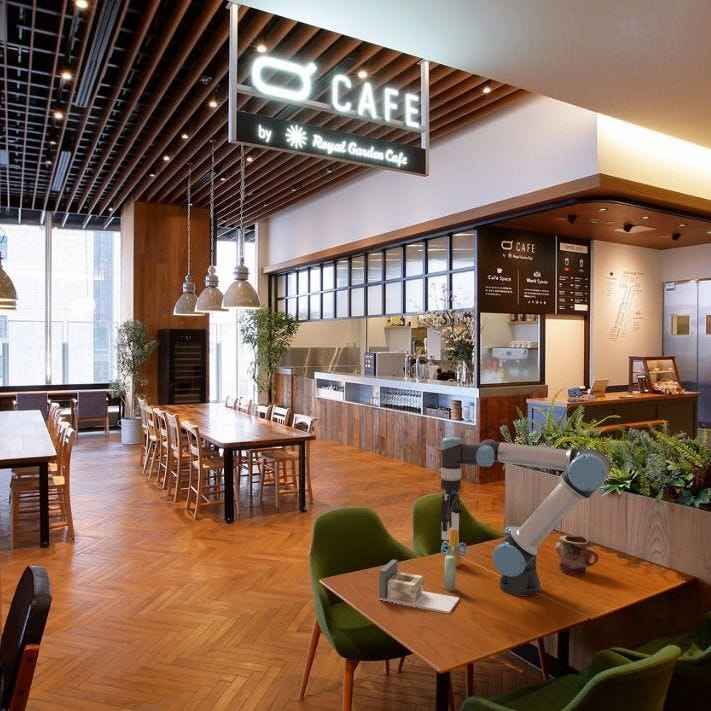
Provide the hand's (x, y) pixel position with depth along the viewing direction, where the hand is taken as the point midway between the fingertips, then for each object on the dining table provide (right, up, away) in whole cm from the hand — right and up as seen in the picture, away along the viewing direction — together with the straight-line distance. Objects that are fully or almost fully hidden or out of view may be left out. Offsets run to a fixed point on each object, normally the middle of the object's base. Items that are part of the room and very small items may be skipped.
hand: (450, 534), depth 232 cm
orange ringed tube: (+6, -21, +27) cm, 35 cm away
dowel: (0, -21, 0) cm, 21 cm away
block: (-18, -21, -8) cm, 28 cm away
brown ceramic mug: (+54, -21, +18) cm, 61 cm away
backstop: (-13, -21, -11) cm, 26 cm away
